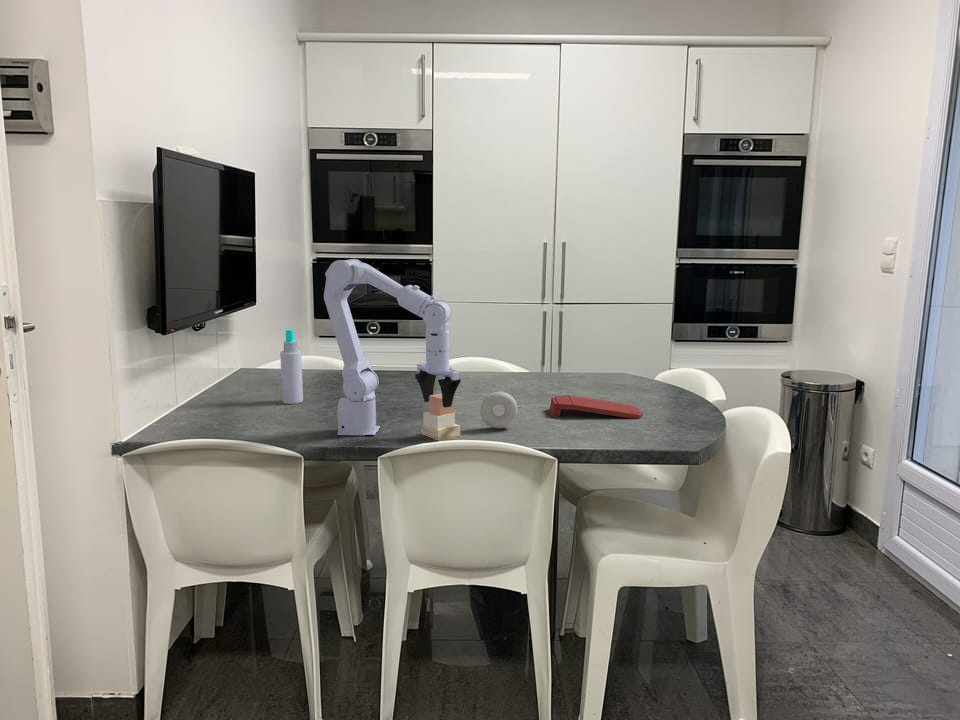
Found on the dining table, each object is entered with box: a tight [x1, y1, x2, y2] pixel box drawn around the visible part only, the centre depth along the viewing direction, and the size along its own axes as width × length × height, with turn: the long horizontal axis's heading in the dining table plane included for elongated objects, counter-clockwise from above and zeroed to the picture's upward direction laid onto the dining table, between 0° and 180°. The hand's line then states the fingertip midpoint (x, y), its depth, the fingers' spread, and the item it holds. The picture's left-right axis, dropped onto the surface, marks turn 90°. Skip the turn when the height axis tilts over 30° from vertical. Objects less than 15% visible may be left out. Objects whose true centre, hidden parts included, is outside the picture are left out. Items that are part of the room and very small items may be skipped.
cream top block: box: [422, 411, 456, 429], centre depth 184 cm, size 6×6×3 cm
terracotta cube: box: [428, 392, 455, 416], centre depth 184 cm, size 4×4×4 cm
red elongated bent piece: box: [549, 394, 644, 420], centre depth 209 cm, size 12×5×25 cm
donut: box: [479, 391, 519, 430], centre depth 191 cm, size 10×4×10 cm, turn 96°
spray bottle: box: [279, 328, 304, 405], centre depth 218 cm, size 6×6×22 cm
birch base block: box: [420, 423, 461, 441], centre depth 185 cm, size 7×7×3 cm
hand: (437, 404), depth 182 cm, fingers open, 7 cm apart
